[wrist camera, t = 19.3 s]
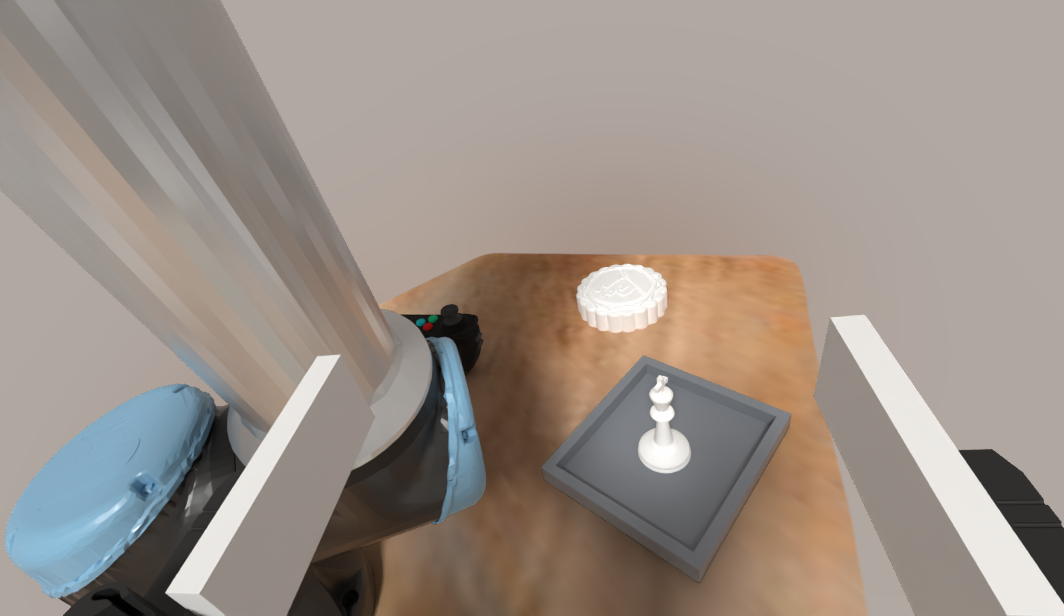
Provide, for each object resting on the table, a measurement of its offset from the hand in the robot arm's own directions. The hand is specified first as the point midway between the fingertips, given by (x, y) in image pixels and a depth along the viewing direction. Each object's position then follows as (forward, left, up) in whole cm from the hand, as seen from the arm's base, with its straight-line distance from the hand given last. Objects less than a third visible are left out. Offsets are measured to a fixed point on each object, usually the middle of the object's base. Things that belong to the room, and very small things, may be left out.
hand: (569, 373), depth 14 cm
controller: (-38, +15, -32) cm, 52 cm away
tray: (-9, +19, -32) cm, 38 cm away
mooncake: (-26, +37, -33) cm, 56 cm away
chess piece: (-9, +19, -32) cm, 38 cm away
